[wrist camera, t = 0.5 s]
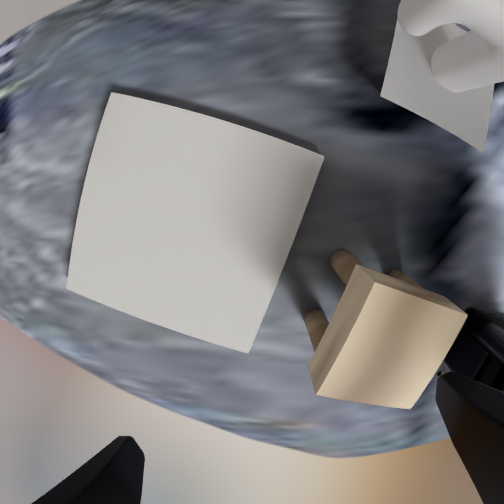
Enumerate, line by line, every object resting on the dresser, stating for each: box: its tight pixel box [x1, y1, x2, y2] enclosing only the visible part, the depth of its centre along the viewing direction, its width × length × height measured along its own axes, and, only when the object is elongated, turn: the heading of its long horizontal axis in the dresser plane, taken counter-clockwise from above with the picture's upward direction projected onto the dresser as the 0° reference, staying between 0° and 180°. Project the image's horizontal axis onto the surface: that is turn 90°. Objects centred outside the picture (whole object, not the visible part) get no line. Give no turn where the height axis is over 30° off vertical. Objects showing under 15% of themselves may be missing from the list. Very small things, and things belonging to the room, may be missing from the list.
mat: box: [67, 92, 325, 353], centre depth 18 cm, size 13×13×1 cm
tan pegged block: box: [304, 249, 468, 409], centre depth 17 cm, size 6×6×7 cm
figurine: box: [380, 0, 504, 153], centre depth 9 cm, size 7×9×15 cm
